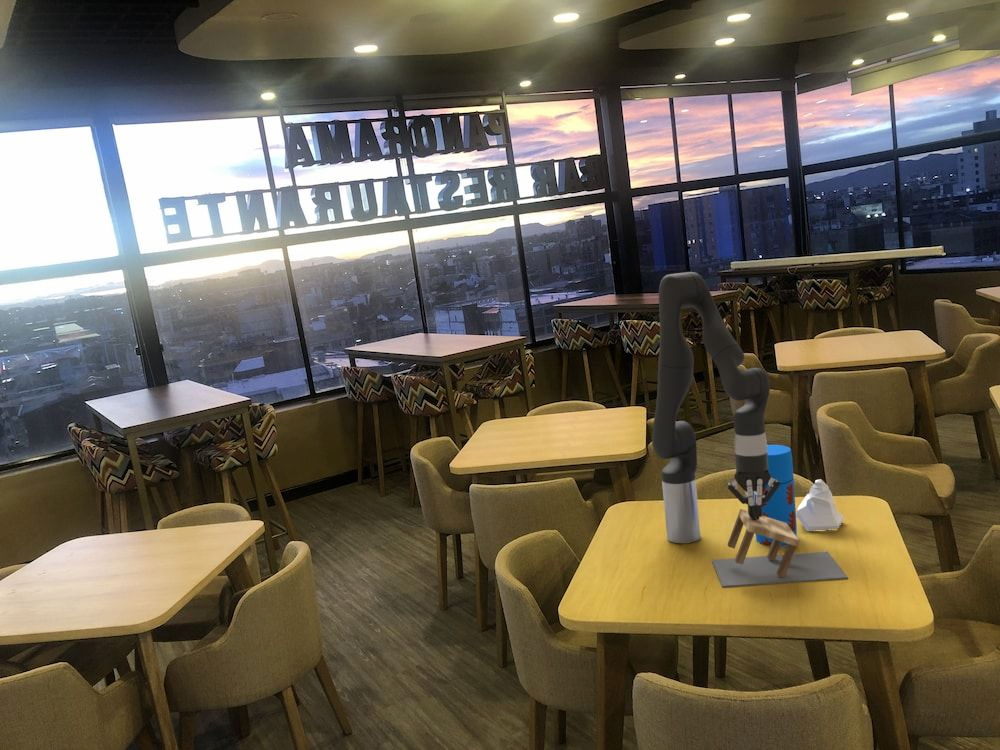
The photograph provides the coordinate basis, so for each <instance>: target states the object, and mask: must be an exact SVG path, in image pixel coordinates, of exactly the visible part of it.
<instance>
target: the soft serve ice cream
mask: <svg viewBox="0 0 1000 750" xmlns="http://www.w3.org/2000/svg"><path fill="white" fill-rule="evenodd" d="M844 518H845V516H843V514H841V513H840V512H839V511H838V510H837V507H836V503H835V500H834V497H833V494H832V492H831V490H830V487H829V486H828V484H827V483H825V481H824V480H822V479H821V478H820V479H815V481H814V484H813V485H812V486H811V487H810V489H809V493H807V494H806V495H805V497H804V498H803V500H802V501H801V502H800V504H799V505H798V506H797V509H796V519H798V521H799V523H801V525H802V526H803V528H804V530H806V532H807V531H814V530H815V531H816V530H829V529H831V530H832V529H834V530H835V529H838V528H839V529H840V527H841V526H840V525H842V524H843V523H844ZM842 522H843V523H842ZM841 523H842V524H841ZM839 526H840V527H839ZM839 529H838V530H839Z"/></svg>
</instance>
